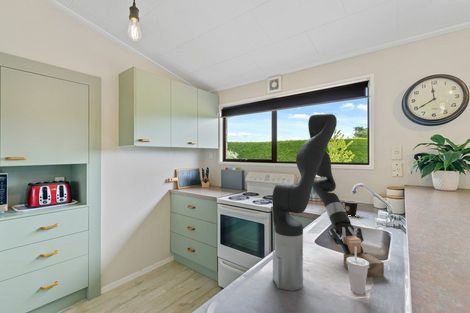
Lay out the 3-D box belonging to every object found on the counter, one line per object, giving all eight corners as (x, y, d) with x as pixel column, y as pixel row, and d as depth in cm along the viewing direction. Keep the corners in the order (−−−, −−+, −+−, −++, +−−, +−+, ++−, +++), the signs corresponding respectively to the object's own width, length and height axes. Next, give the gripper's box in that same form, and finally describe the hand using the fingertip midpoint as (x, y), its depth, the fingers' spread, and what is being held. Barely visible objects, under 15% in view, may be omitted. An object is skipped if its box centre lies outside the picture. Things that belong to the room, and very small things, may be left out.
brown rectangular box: (357, 278, 77) (357, 263, 77) (343, 267, 85) (343, 253, 85) (383, 276, 79) (383, 262, 79) (367, 265, 87) (367, 252, 87)
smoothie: (348, 283, 74) (348, 241, 74) (370, 290, 70) (371, 246, 70) (343, 292, 70) (344, 247, 70) (367, 300, 65) (367, 253, 65)
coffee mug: (360, 217, 157) (360, 203, 157) (347, 217, 157) (347, 202, 157) (351, 212, 169) (351, 199, 169) (340, 212, 169) (340, 199, 169)
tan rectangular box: (350, 265, 86) (350, 240, 86) (343, 260, 90) (343, 236, 90) (361, 265, 86) (361, 239, 86) (354, 260, 91) (354, 235, 91)
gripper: (325, 211, 95) (342, 251, 83) (356, 210, 97) (377, 249, 85) (319, 219, 100) (334, 258, 88) (348, 218, 102) (367, 257, 90)
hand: (355, 253), depth 86 cm, fingers closed on tan rectangular box, 4 cm apart
